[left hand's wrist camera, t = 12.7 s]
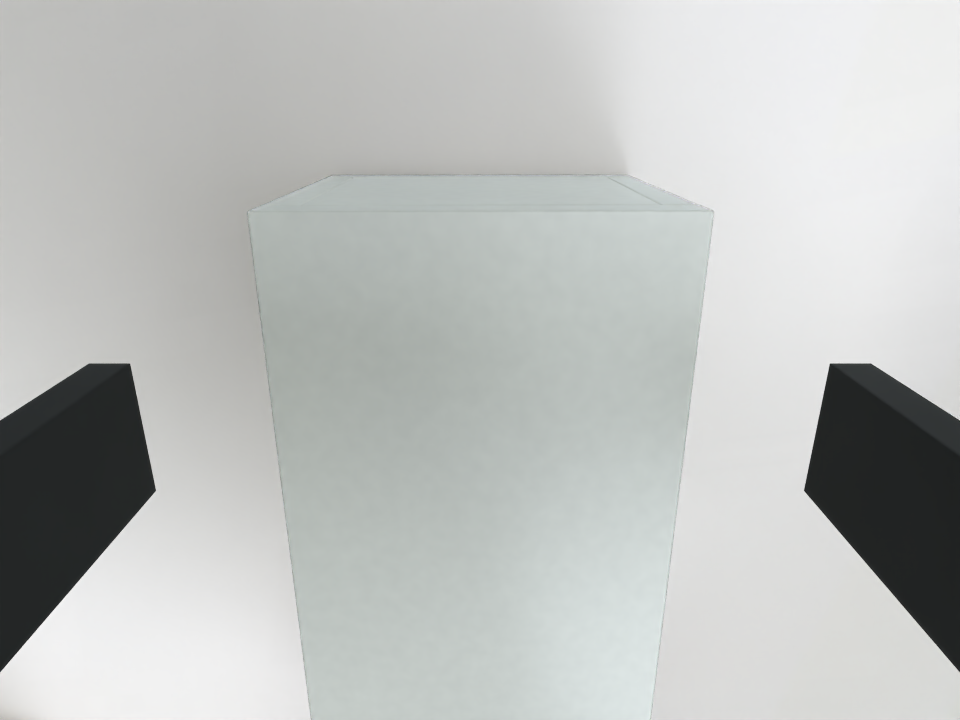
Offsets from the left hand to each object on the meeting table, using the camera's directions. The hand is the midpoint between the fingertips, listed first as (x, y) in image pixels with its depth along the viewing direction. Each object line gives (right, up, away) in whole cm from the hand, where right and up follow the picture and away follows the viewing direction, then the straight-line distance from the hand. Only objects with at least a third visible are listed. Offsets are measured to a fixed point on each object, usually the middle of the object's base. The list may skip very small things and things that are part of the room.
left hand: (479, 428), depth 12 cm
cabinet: (0, -2, +16) cm, 16 cm away
